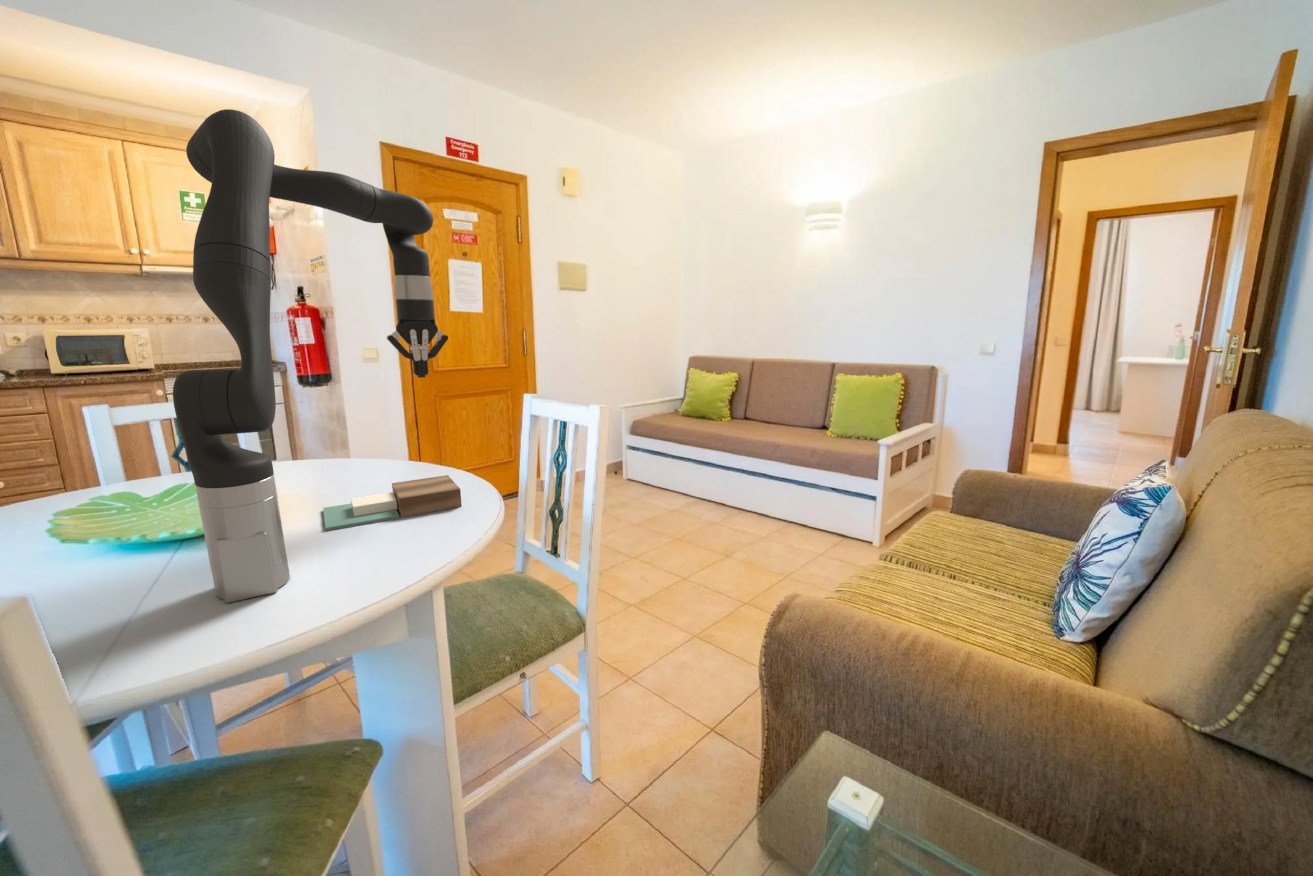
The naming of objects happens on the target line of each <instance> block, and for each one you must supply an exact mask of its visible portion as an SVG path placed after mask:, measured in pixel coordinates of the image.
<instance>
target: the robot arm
mask: <svg viewBox="0 0 1313 876" xmlns="http://www.w3.org/2000/svg"><path fill="white" fill-rule="evenodd" d="M185 152H186V156H187V160H188V162H189V163H190V165H191V167H192V168H193V170H195V172H197V174H199V176H201V177H202V178H203V179H205V180H206V181H208V182H210V183H211V187H210V190H209V194H208V195H207V196H208V197H207V200H206V203H205V205H204V208H203V211H202V213H201V216H200V220H199V223H198V226H197V230H196V233H195V237H194V243H193V255H192V258H193V261H192V262H193V263H192V264H193V265H192V282H193V285H194V287H195V291H196V292H197V293H198V295H199V297H200V298H201V299H202V301H203V302H204V304H205V305H206V306H207V307H208V309H209V310H211V312H212V313H213V315H214V316H215V317H216V318H217V319H218V320H219V322H221V323H222V325H223V326H224V327H225V329H226V330H227V331H228V332H229V334H230V336H231V337H232V338H233V340H234V342H235V343H236V345H237V347H238V351H239V354H240V359H241V361H240V362H241V363H240V365H241V366H240V368H238V369H237V368H233V369H232V368H231V369H227V368H226V369H194V370H193V369H191V370H185V371H182V372H180V373H179V374H178V375H177V376H176V378H175V380H174V382H173V386H172V399H173V400H172V401H173V408H174V413H175V416H176V419H177V424H178V428H179V431H180V434H181V438H182V441H183V445H184V450H185V454H186V459H187V463H188V466H189V469H190V471H191V475H192V476H193V481H194V486H195V487H194V488H195V491H196V497H197V502H198V503H197V504H198V507H199V513H200V518H201V524H202V529H203V530H202V531H203V535H204V539H205V545H206V550H207V555H208V560H209V564H210V565H209V566H210V571H211V575H212V581H213V586H214V591H215V595H216V597H218V598H219V599H221V600H224V603H225V604H226V603H232V602H237V601H242V600H246V599H252V598H255V597H260V596H266V595H269V594H273V593H276V592H278V589H280V588H281V587H283V586H284V585H286V584H287V582H289V580H290V579H291V574H290V569H289V562H288V557H287V556H288V555H287V550H286V544H285V537H284V532H283V531H284V530H283V526H282V525H283V524H282V517H281V512H280V506H279V498H278V493H277V491H278V490H277V486H276V485H277V484H276V479H275V472H274V465H273V461H272V459H271V457H270V456H268V455H267V454H265V453H262V452H259V451H255V450H250V449H246V448H242V447H239V446H238V445H235V444H232V443H231V442H229V441H227V440H226V439H225V437H224V436H223V435H232V434H235V435H236V434H247V433H248V434H249V433H250V434H251V433H261V432H266V431H268V430H269V429H270V428H271V427H272V426H273V423H274V421H275V418H276V416H275V415H276V411H277V410H276V405H277V404H276V403H277V401H276V388H275V378H274V377H275V375H274V365H273V355H272V354H273V353H272V346H271V295H272V291H271V290H272V262H271V261H272V260H271V229H270V227H271V226H270V198H273V199H278V200H284V201H289V202H294V203H299V204H303V205H304V204H305V205H308V206H313V207H318V208H322V209H324V210H329V211H332V212H335V213H339V214H341V215H345V216H348V217H351V218H353V219H357V220H358V221H359V220H360V221H363V222H366V223H370V224H371V223H372V224H382V227H383V230H384V234H385V237H386V241H387V243H388V246H389V248H390V251H391V253H392V257H393V260H392V262H393V270H394V297H395V305H396V316H397V324H396V326H395V331H393V332H392V333H390V334H388V335H387V336H386V340H387V341H388V342H389V343H390V344H391V345H392V347H394V348H395V349H396V350H397V351H398V352H399V354H400V355H402V357H404V358H406V359H408V360H411V362H412V368H413V369H412V370H413V374H414V376H416V377H417V378H418V379H423V378H426V376H427V375H428V374H429V367H428V366H429V365H428V361H429V360H430V359H432V358H434V359H435V358H436V356H438V353H439V352H440V351H441V349H442V348H443V347H444V346H445V344H446V343H447V341H448V340H449V336H448V335H447V334H444V333H442V331H440V330H439V328H438V325H437V324H436V317H435V305H434V293H433V291H434V290H433V285H432V279H431V271H430V261H429V254H428V252H427V251H426V250H425V249H423V248H421V247H419V246H418V245H417V242H416V238H415V236H419V235H424V234H425V233H428V232H429V231H430V230H431V229H432V227H433V225H434V217H433V216H434V215H433V213H432V210H431V209H430V207H429V206H428V205H427V204H426V203H425V202H424V201H422V200H420V199H419V198H418V197H417V198H416V197H415V196H411V195H408V194H405V193H400V192H396V191H392V190H388V189H383V188H379V187H376V186H374V185H372V184H370V183H367V182H365V181H362V180H359V179H357V178H354V177H351V176H349V175H346V174H342V173H338V172H332V171H324V170H311V169H299V168H292V167H285V166H282V165H278V164H275V156H276V155H275V149H274V146H273V142H272V141H271V138H270V137H269V135H268V133H267V131H266V130H265V129H264V127H263V126H262V125H261V124H260V123H259V122H258V121H257V120H256V119H254V118H253V117H252V116H251V115H249V114H247V113H246V112H243V111H240V110H237V109H230V108H229V109H221V110H218V111H215V112H214V113H212V114H210V115H209V116H208V117H206V118H205V119H204V121H203V122H202V123H201V124H200V126H198V128H197V129H196V130H195V132H194V133H193V135H192V136H191V137H190V139H189V140H188V142H187V145H186V150H185ZM400 337H401V338H402V339H403V340H404V341H405V343H406V344H408V345H409V349H410V352H409V351H408V350H407V349H406V348H405V347H404V346H403V345H402V344H401V343H400V342H401V338H400ZM434 338H435V343H434V345H433V346H432V347H431V349H430V350H429V344H430V343H431V342H432V341H433V339H434Z"/></svg>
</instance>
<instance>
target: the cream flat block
mask: <svg viewBox="0 0 1313 876" xmlns="http://www.w3.org/2000/svg"><path fill="white" fill-rule="evenodd" d="M350 504H351V505H352V510H353V513H354V516H359V515H365V514H371V513H377V512H383V511H388V510H394V509H396V510H398V508H397V501H396V498H395V497H394V495H393V491H391V492H386V493H380V494H372V495H366V496H360V497H359V496H358V497H353V498H350Z"/></svg>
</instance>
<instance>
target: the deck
mask: <svg viewBox="0 0 1313 876" xmlns="http://www.w3.org/2000/svg"><path fill="white" fill-rule="evenodd" d="M391 486H392V487H391V488H392V493H393V495H394V497H395V498H396V501H397V511H398V513H399V514H400V516H401V517H402V518H403V517H408V516H409V517H410V516H415V515H421V514H425V513H430V512H431V513H433V512H436V511H435V510H438V511H442V510H441V509H444V510H448V509H447V508H449V509H453V508H452V507H455V508H458V507H459V508H460V506H461V507H462V495H461V488H460V487H459V486H458V485H457V484H456V483H455V481H454V480H453V479H452V478H451V477H450V476H449V475H448V474H447V475H441V476H440V475H439V476H433V477H427V478H419V479H411V480H406V481H405V480H404V481H398V482H397V481H396V482H392V483H391Z"/></svg>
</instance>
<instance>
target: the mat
mask: <svg viewBox="0 0 1313 876" xmlns="http://www.w3.org/2000/svg"><path fill="white" fill-rule="evenodd" d="M322 509H323V511H322V512H323V520H324V521H323V522H324V529H325V530H324V531H325V532H328V531H333V530H339V529H345V528H350V527H355V526H362V525H366V524H368V525H369V524H373V523H378V522H379V523H380V522H384V521H391V520H397V519H400V515H399V514H400V513H399V511H398V509H394V510H388V511H383V512H377V513H371V514H365V515H359V516H354V513H353V510H352V505H351V503H346V504H339V505H332V506H326V507H323V508H322Z"/></svg>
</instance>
